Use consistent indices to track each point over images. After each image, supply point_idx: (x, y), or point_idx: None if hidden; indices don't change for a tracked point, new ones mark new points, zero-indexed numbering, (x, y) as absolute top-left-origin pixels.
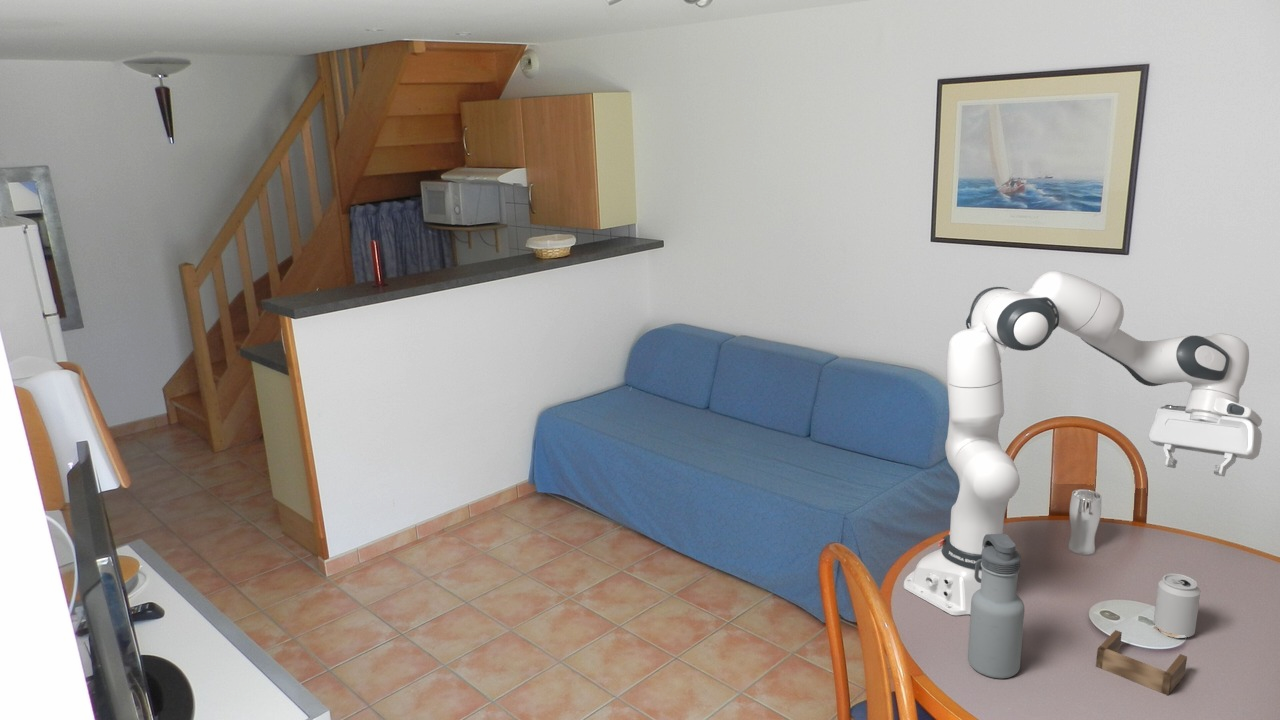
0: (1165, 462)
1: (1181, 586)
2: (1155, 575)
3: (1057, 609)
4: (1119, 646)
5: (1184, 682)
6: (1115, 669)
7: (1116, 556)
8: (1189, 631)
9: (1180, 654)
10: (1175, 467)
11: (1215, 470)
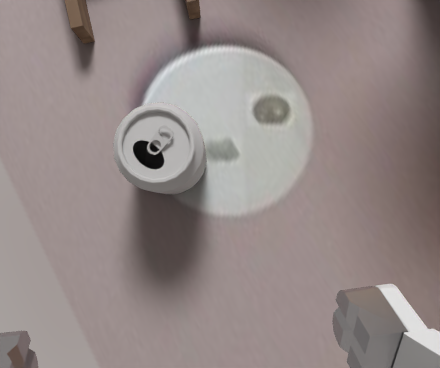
0: (399, 291)
1: (144, 131)
2: (315, 335)
3: (338, 44)
4: (188, 12)
5: None
6: None
7: None
8: (134, 148)
9: (81, 24)
10: (335, 334)
11: (4, 343)
